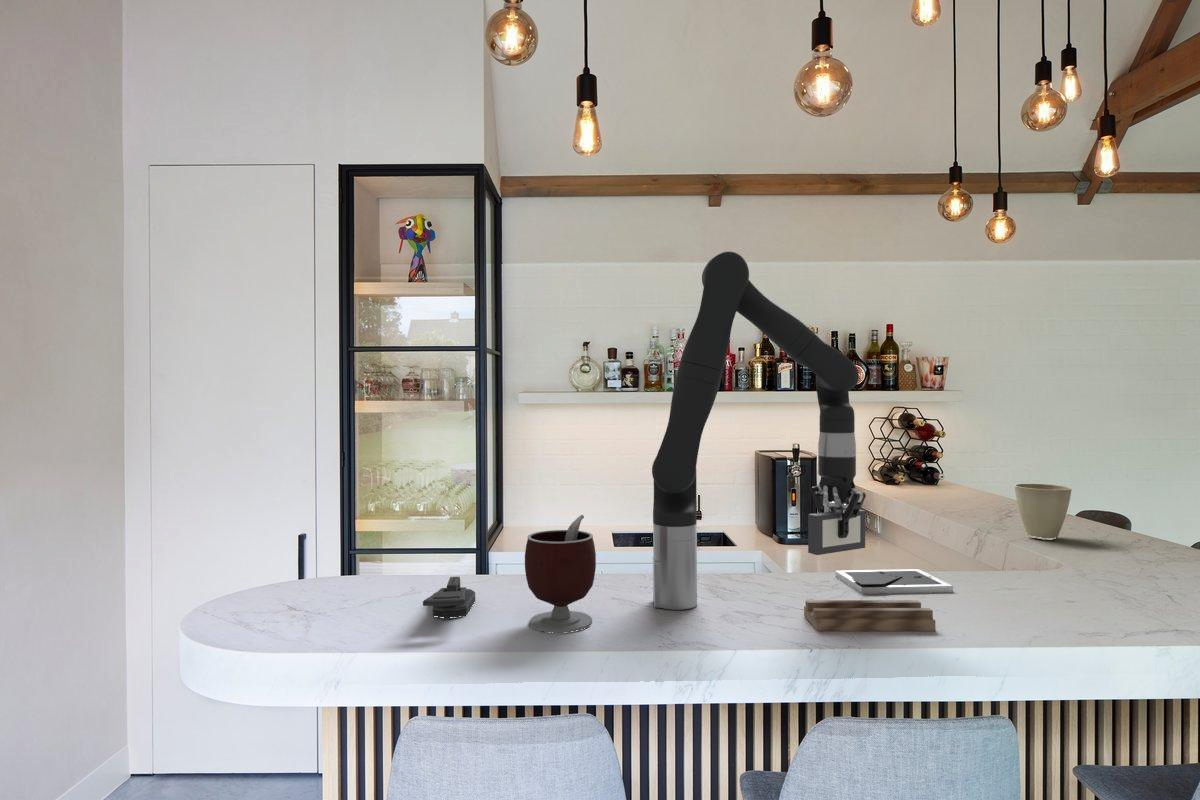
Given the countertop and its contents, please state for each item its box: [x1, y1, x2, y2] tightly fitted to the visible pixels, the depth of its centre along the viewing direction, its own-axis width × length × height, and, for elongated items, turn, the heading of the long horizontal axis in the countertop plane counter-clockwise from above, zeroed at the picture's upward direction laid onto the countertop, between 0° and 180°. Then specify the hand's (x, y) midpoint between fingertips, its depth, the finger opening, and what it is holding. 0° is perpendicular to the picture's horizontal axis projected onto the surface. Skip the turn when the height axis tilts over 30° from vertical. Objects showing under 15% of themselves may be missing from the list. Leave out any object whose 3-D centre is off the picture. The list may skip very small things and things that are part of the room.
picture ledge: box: [803, 599, 936, 632], centre depth 138 cm, size 22×9×4 cm, turn 89°
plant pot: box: [1014, 483, 1072, 538], centre depth 219 cm, size 15×15×16 cm
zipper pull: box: [422, 576, 476, 618], centre depth 145 cm, size 9×7×25 cm
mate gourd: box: [524, 514, 597, 634], centre depth 140 cm, size 16×14×20 cm
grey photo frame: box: [807, 509, 866, 556], centre depth 150 cm, size 14×2×8 cm, turn 119°
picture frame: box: [835, 568, 954, 595], centre depth 167 cm, size 16×3×21 cm
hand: (836, 536), depth 150 cm, fingers closed on grey photo frame, 2 cm apart
